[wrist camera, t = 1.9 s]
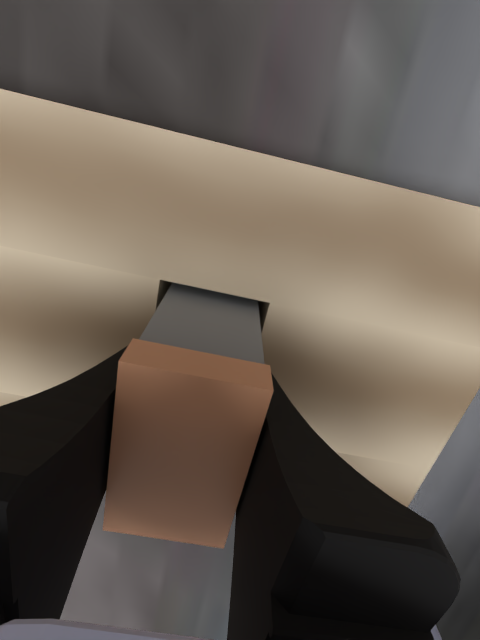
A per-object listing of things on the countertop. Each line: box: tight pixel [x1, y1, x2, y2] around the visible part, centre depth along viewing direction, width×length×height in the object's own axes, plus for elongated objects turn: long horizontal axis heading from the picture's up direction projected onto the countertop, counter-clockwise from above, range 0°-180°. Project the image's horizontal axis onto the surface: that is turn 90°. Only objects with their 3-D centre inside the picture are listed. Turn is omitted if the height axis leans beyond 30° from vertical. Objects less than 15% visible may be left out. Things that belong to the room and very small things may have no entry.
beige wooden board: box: [0, 89, 480, 507], centre depth 14 cm, size 14×20×3 cm
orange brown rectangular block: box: [103, 282, 274, 548], centre depth 12 cm, size 5×3×7 cm, turn 167°
